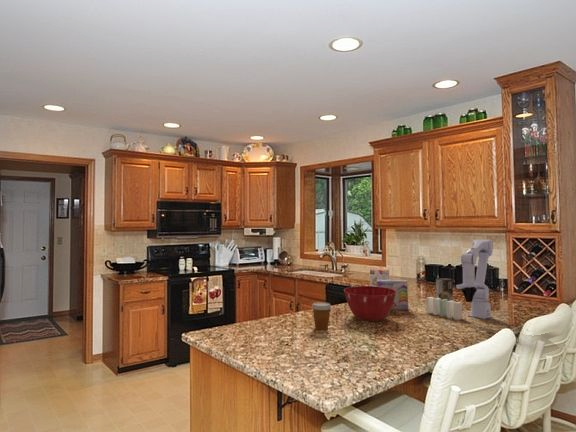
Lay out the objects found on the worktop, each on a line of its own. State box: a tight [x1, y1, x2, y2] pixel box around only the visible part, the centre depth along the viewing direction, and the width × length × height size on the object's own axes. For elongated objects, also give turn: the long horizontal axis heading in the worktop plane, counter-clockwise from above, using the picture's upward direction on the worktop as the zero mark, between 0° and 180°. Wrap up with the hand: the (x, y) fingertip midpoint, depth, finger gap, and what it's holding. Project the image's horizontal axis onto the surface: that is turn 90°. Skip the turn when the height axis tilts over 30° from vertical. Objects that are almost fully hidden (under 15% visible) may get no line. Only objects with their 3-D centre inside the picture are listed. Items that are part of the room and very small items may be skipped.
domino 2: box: [432, 297, 441, 316], centre depth 229 cm, size 2×5×9 cm, turn 123°
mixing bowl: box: [343, 285, 397, 322], centre depth 220 cm, size 28×28×16 cm
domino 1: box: [425, 296, 435, 315], centre depth 233 cm, size 2×5×9 cm, turn 123°
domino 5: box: [453, 301, 463, 321], centre depth 217 cm, size 2×5×9 cm, turn 123°
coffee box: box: [435, 277, 454, 301], centre depth 258 cm, size 9×6×16 cm
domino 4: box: [446, 299, 456, 319], centre depth 221 cm, size 2×5×9 cm, turn 122°
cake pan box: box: [377, 279, 409, 311], centre depth 243 cm, size 19×5×18 cm, turn 76°
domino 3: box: [439, 299, 448, 318], centre depth 225 cm, size 2×5×9 cm, turn 122°
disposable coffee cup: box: [311, 301, 332, 331], centre depth 199 cm, size 10×10×12 cm
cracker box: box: [369, 267, 390, 287], centre depth 273 cm, size 14×6×21 cm, turn 25°
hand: (468, 301), depth 212 cm, fingers closed
